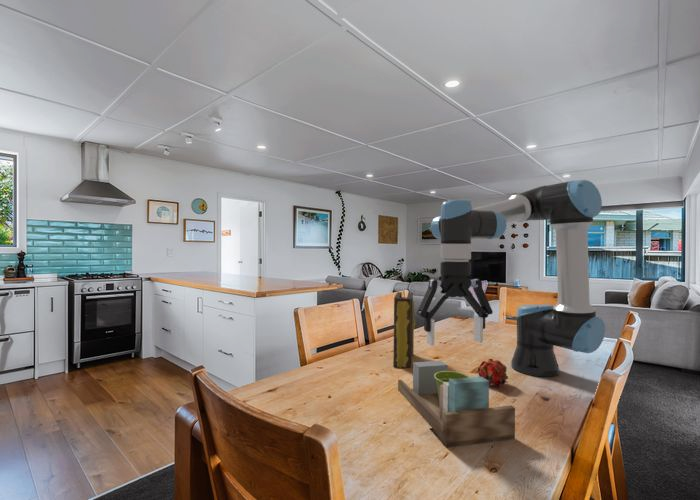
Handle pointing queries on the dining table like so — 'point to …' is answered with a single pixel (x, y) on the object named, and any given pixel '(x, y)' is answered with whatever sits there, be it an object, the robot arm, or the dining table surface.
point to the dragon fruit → (493, 372)
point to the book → (403, 330)
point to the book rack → (463, 412)
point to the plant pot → (447, 378)
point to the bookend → (426, 376)
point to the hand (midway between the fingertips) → (454, 342)
